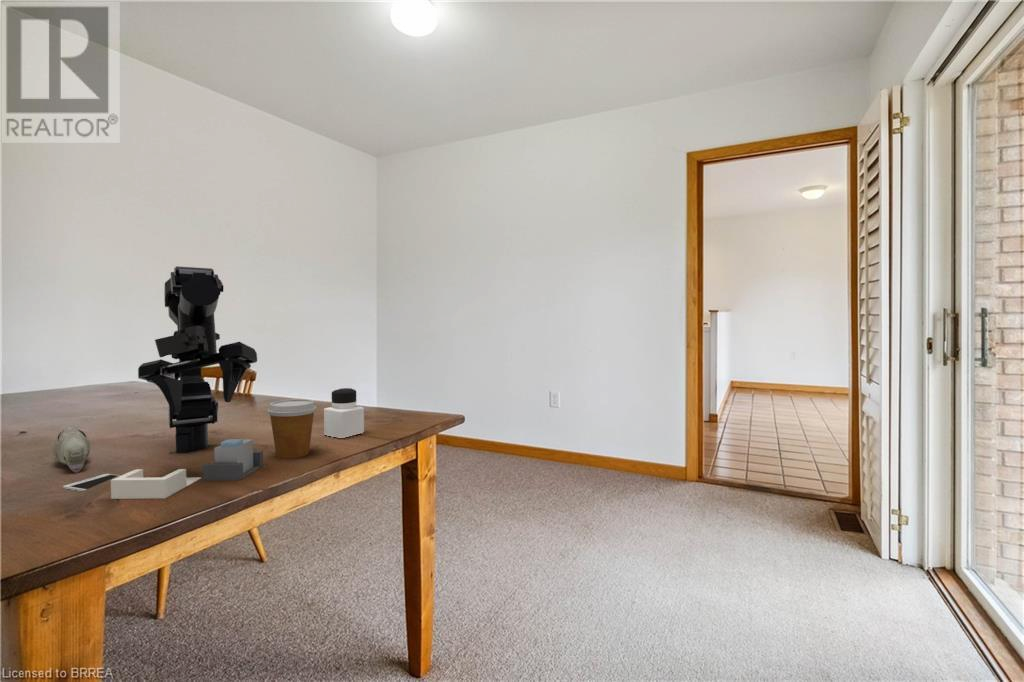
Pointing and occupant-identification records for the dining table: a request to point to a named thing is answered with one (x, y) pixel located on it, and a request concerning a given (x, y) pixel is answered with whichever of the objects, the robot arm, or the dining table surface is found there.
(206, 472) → the holster
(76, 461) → the decorative bird
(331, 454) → the dining table surface
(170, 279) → the robot arm
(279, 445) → the disposable coffee cup
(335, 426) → the medicine bottle
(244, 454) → the plug
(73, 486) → the smartphone
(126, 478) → the port
